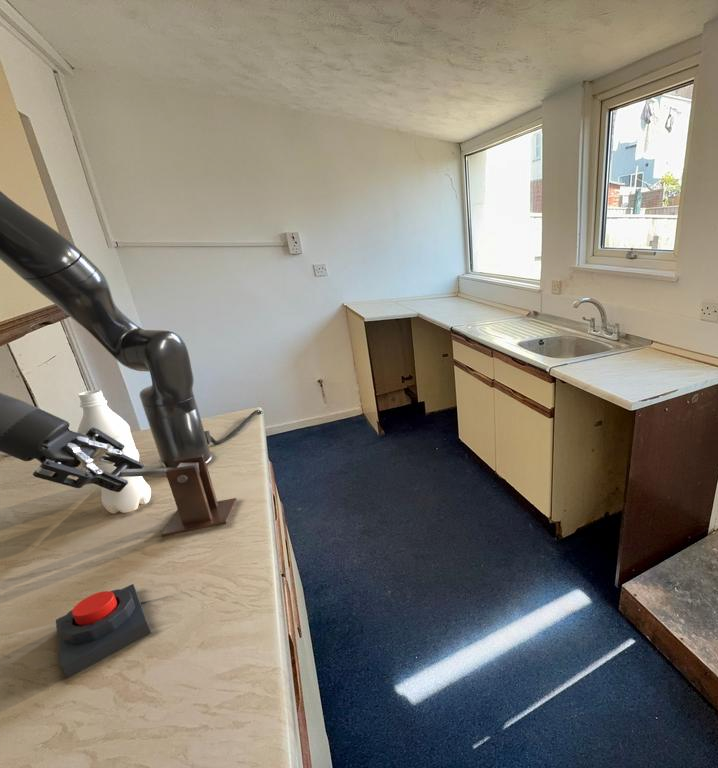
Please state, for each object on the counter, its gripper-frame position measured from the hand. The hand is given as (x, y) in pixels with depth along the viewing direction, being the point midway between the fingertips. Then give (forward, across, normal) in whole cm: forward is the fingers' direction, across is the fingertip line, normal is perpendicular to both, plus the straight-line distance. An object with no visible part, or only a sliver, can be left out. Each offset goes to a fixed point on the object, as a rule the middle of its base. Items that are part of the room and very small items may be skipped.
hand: (132, 478), depth 71 cm
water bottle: (+4, +10, +13) cm, 17 cm away
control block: (+11, -24, +5) cm, 27 cm away
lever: (+3, 0, -2) cm, 3 cm away
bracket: (+14, 0, +2) cm, 14 cm away
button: (+8, -24, +3) cm, 25 cm away
